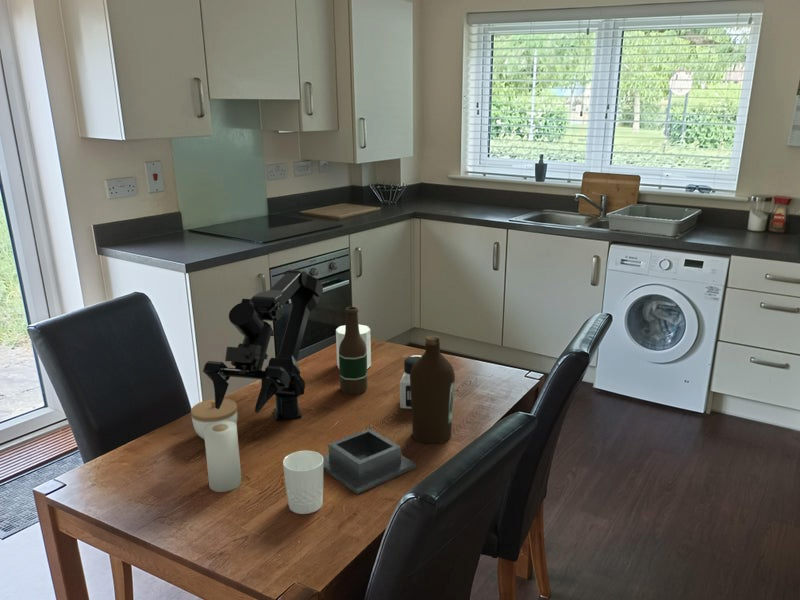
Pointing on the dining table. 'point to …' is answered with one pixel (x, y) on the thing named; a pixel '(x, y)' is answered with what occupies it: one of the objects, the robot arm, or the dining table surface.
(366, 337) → the toilet paper
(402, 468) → the square open box
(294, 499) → the white cup
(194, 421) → the lidded jar
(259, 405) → the robot arm
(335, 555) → the dining table surface
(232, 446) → the white paper towel roll
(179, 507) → the dining table surface
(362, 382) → the beer bottle
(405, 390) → the container
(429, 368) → the olive oil
